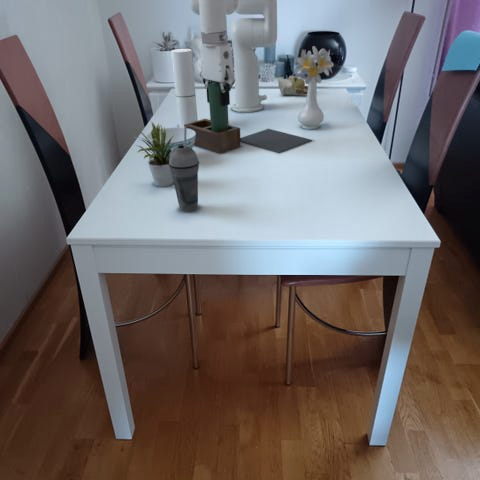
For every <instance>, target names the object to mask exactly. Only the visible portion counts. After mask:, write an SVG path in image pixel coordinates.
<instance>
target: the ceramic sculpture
mask: <svg viewBox="0 0 480 480" xmlns="http://www.w3.org/2000/svg"><path fill="white" fill-rule="evenodd" d="M277 82H278V84H277V85H278V88H279V91H280V95H281V96H285V95H287V94H289V95H292V96H307V93H308V85H306V83H305V80H304V79H303V78H302V77H301V76H297V75H296V73H293V74H291V75H289V77H287V78H283V77H280V76H278V77H277Z"/></svg>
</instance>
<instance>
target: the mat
mask: <svg viewBox="0 0 480 480" xmlns="http://www.w3.org/2000/svg"><path fill="white" fill-rule="evenodd" d="M240 140H241V143H243V144H247V145H250V146H254V147H257V148H260V149H264V150H267V151H270V152H275V153H278V154H281V153H283V152H286V151H289V150H291V149H294V148H297V147H299V146H302V145H305V144H307V143H310V142H312V141H313V140H312V139H310V138H307V137H301V136H299V135H294V134H289V133H287V132H282V131H278V130H275V129H271V128H267V129H263V130H261V131H258V132H254V133H251V134H248V135H246V136H245V135H244V136H241V137H240Z"/></svg>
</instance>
